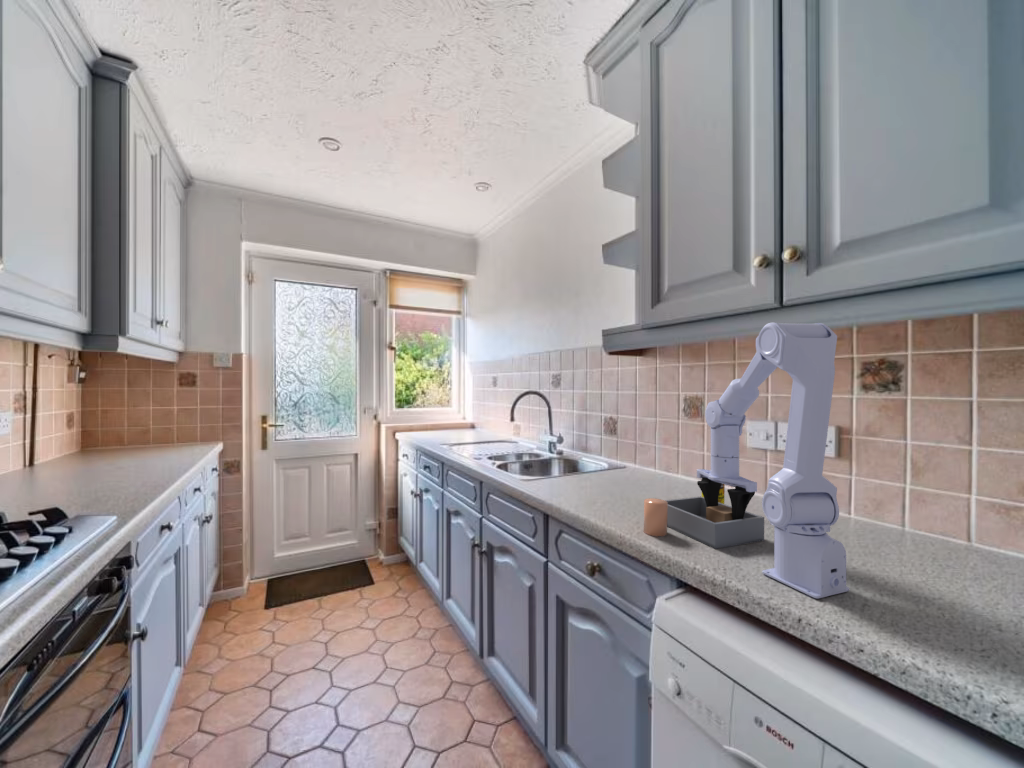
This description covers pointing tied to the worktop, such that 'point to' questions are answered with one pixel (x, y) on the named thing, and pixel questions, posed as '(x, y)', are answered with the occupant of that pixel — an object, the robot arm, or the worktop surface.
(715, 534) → the tote
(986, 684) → the worktop surface
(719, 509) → the walnut block
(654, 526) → the terracotta cylinder
